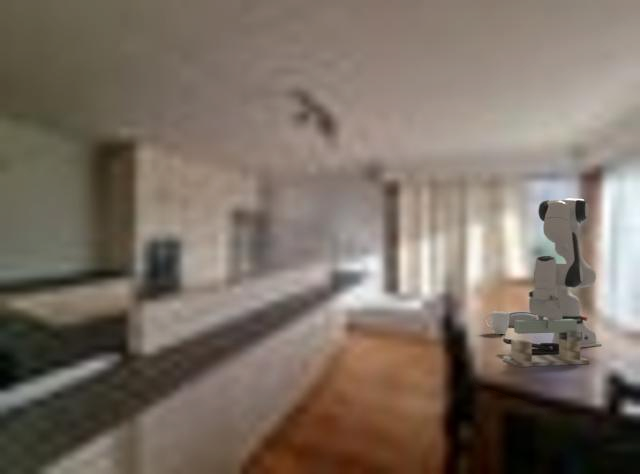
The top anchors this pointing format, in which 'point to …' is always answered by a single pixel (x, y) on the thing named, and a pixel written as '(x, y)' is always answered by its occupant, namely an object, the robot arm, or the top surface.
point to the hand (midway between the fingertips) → (545, 327)
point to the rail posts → (566, 356)
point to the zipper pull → (541, 348)
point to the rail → (544, 326)
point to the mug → (499, 321)
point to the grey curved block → (520, 316)
